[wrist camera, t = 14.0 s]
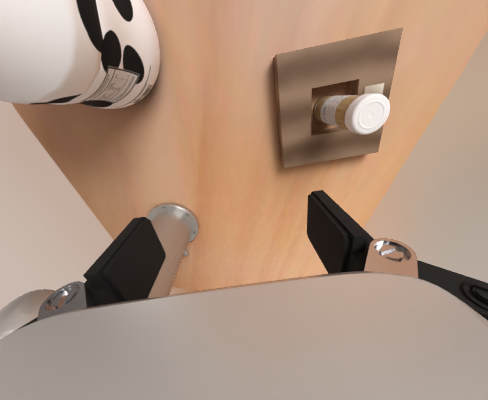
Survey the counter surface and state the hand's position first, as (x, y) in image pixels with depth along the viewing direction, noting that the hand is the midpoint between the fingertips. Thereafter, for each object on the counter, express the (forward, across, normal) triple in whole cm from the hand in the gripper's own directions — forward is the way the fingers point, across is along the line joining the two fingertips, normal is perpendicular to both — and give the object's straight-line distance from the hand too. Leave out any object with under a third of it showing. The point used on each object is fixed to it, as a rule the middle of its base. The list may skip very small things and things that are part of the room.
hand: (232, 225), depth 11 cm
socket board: (+28, -18, -3) cm, 33 cm away
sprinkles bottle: (+28, -18, -3) cm, 33 cm away
